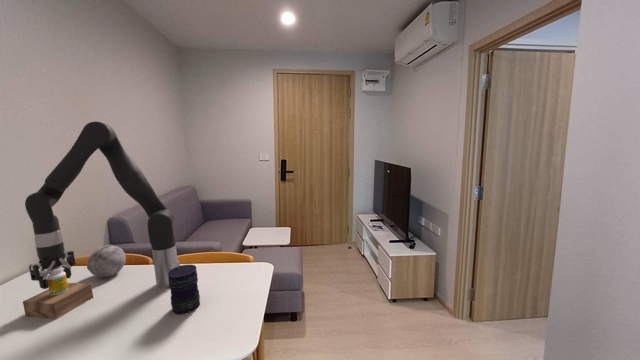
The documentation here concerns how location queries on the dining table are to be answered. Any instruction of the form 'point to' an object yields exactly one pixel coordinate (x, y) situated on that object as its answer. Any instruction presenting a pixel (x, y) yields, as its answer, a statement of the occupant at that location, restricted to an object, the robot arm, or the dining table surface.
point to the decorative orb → (106, 261)
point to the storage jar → (184, 289)
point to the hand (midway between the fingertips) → (57, 282)
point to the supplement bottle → (57, 281)
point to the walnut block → (57, 301)
